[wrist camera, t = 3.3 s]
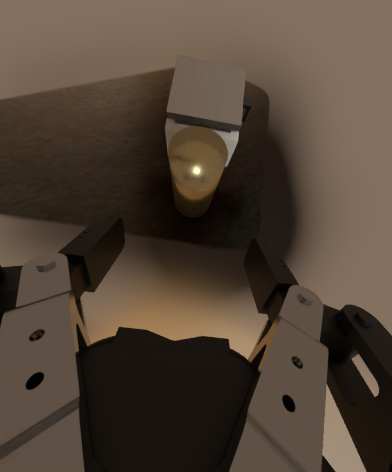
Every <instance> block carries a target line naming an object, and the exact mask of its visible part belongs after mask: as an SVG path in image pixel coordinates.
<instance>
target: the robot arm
mask: <svg viewBox="0 0 392 472" xmlns="http://www.w3.org/2000/svg"><path fill="white" fill-rule="evenodd" d="M124 244H125V236H124V226H123V220H122V218H118V217H112V216H107V217H106V218H105V219H103V220H102V221H101V222H100V223H96V224H93V225H91V226H89V227H87V228H86V229H85V230H84V231H83V232H82V233H80V234H79V235H78V236H77V238H75V239H73V240H72V241H71V242H70V243H69V244H67V245H66V246H65V247H64V248H63V249H61V250H60V251H59V252H58V253H49V254H44V255H40V256H37V257H35V258H33V259H31V260H29V261H28V262H27V263H25V265H24V266H12V267H1V266H0V472H335V471H334V469H333V468H332V467H331V465H330V464H329V463H328V461H327V460H326V459H325V458H324V456H323V455H322V448H323V432H324V416H325V400H326V384H327V385H328V387H329V389H330V392H331V394H332V396H333V398H334V400H335V403H336V405H337V407H338V409H339V411H340V414H341V416H342V418H343V420H344V423H345V425H346V427H347V429H348V431H349V434H350V436H351V438H352V440H353V442H354V445H355V447H356V449H357V451H358V454H359V456H360V458H361V460H362V462H363V465H364V467H365V469H366V471H367V472H392V336H391V334H390V333H389V332H388V331H387V330H386V329H385V328H384V327H383V325H382V324H381V323H380V322H379V321H378V320H377V319H376V318H375V317H374V316H372V315H371V314H370V313H368V312H367V311H365V310H364V309H362V308H360V307H357V306H354V305H345V306H344V307H343V308H342V309H341V310H337V309H334V308H331V307H329V306H326V305H324V304H323V303H322V301H321V300H320V298H319V297H318V296H317V295H316V294H315V293H314V292H312V291H311V290H309V289H307V288H305V287H303V286H300V285H299V284H298V282H297V281H296V279H295V277H294V276H293V274H292V273H291V271H290V270H289V268H288V267H287V265H286V263H285V262H284V260H283V258H282V257H281V255H280V254H279V253H277V252H276V251H275V250H274V249H272V248H271V246H270V245H269V243H268V241H266V240H264V239H257V238H253V239H252V241H251V243H250V245H249V248H248V250H247V253H246V255H245V258H244V268H245V271H246V274H247V277H248V281H249V284H250V287H251V290H252V293H253V297H254V300H255V303H256V306H257V309H258V313H262V314H267V315H268V320H267V321H266V323H265V325H264V327H263V330H262V332H261V334H260V336H259V339H258V341H257V343H256V346H255V347H254V350H253V352H252V353H251V355H250V357H249V358H248V360H247V359H246V358H245V357H244V356H242V355H241V354H239V353H238V352H236V351H234V350H232V349H230V347H229V340H228V339H224V338H215V337H206V336H201V337H195V338H189V339H183V340H178V341H173V340H170V339H167V338H165V337H163V336H160V335H158V334H155V333H153V332H150V331H148V330H142V329H134V328H123V327H119V328H118V331H117V333H116V335H115V336H112V337H108V338H105V339H102V340H100V341H97V342H95V343H93V344H90V340H89V336H88V333H87V327H86V321H85V316H84V310H83V304H82V299H81V295H82V294H83V292H84V291H87V292H95V290H96V289H97V287H98V286H99V284H100V283H101V281H102V280H103V278H104V277H105V275H106V274H107V272H108V271H109V269H110V268H111V266H112V265H113V263H114V262H115V260H116V259H117V257H118V255H119V254H120V253H121V251H122V249H123V247H124ZM358 354H359V355H360V356H361V358H362V359H363V361H364V362H365V364H366V365H367V367H368V368H369V370H370V372H371V373H372V374H373V376H374V378H375V379H376V381H377V383H378V386H379V394H378V396H376V397H374V395H373V394H372V392H371V390H370V389H369V387H368V385H367V384H366V382H365V381H364V379H363V377H362V376H361V374H360V372H359V371H358V369H357V367H356V366H355V364H354V363H353V361H352V359H351V358H353V357H355V356H356V355H358Z"/></svg>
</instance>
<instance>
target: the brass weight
mask: <svg viewBox="0 0 392 472" xmlns="http://www.w3.org/2000/svg"><path fill="white" fill-rule="evenodd" d="M168 156H169V164H170V172H171V179H172V187H173V195H174V202H175V207H176V209H177V210H178V212H179V213H180V214H182V215H183V216H185V217H188V218H197V217H200V216H202V215H203V214H204V213H205V212H206V211H207V210H208V208H209V205H210V203H211V200H212V198H213V195H214V192H215V190H216V187H217V185H218V182H219V180H220V177H221V175H222V172H223V170H224V167H225V165H226V162H227V159H228V149H227V146H226V144H225V142H224V140H223V139H222V137H221V136H220V135H219V134H217V133H216V132H215V131H213V130H211V129H209V128H206V127H201V126H191V127H187V128H184V129H182V130H180V131H178V132H177V133H176V134H175V135H174V136H173V137H172V139H171V140H170V143H169V146H168Z"/></svg>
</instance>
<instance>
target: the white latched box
mask: <svg viewBox="0 0 392 472" xmlns="http://www.w3.org/2000/svg"><path fill="white" fill-rule="evenodd" d="M191 126H197V125H196V123H190V122H185V121H179V120H174V119H168V118H167V120H166V125H165V134H166V143H167V152H168V146H169V143H170V140H171V139H172V137H173V136H174V135H175V134H176V133H177V132H178V131H180V130H182V129H184V128H187V127H191ZM209 129H211V130H213V131H215V132H216V133H217V134H219V135H220V136H221V137H222V139H223V140H224V142H225V144H226V146H227V149H228V159H227V162H226V165H225V166H227V165H228V163H229V161H230V158H231V156H232V154H233V152H234V149H235V147H236V145H237V142H238V135H239V131H234V130H228V129H223V128H217V127H212V126H210V127H209ZM168 157H169V156H168Z"/></svg>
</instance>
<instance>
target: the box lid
mask: <svg viewBox="0 0 392 472" xmlns="http://www.w3.org/2000/svg"><path fill="white" fill-rule="evenodd" d="M245 73H246V69H242V68H237V67H232V66H227V65H223V64H218V63H213V62H209V61H204V60H199V59H194V58H189V57H184V56H179V55H178V57H177V62H176V67H175V71H174V76H173V81H172V86H171V91H170V96H169V101H168V106H167V111H166V114H167V118H168V119H174V120H179V121H185V122H190V123H196V125H197V126H201V127H206V128H209V127H210V126H212V127H217V128H223V129H228V130H234V131H239V130H240V127H241V123H242V121H244V122H245V119H246V117H247V115H248V112H249V110H250V109H251V107H252V98H248V97H244V86H245ZM243 108H245V112H244V114H243V117H242V110H243Z"/></svg>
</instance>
